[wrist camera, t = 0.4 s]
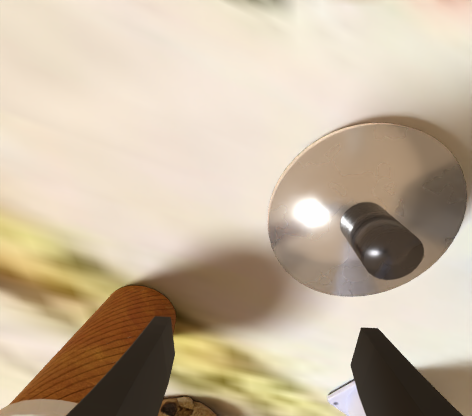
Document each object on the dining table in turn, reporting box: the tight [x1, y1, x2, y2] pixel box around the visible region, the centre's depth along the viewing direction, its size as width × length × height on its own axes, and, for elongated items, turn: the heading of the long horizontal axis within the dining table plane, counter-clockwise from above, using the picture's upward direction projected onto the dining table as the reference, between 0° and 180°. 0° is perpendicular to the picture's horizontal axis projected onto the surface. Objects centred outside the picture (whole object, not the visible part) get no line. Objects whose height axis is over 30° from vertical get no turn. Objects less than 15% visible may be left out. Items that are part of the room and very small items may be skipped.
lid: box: [268, 123, 467, 297], centre depth 16 cm, size 13×13×6 cm
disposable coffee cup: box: [0, 285, 176, 416], centre depth 18 cm, size 10×10×12 cm
